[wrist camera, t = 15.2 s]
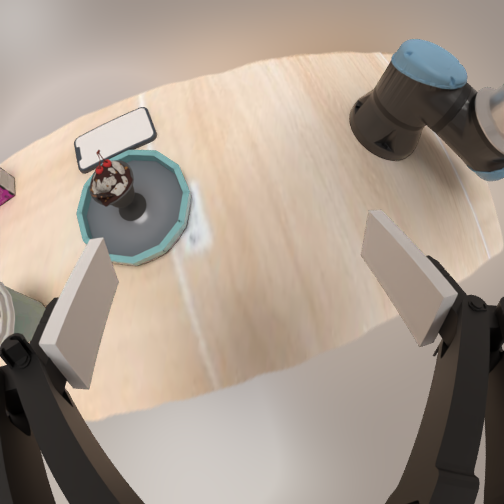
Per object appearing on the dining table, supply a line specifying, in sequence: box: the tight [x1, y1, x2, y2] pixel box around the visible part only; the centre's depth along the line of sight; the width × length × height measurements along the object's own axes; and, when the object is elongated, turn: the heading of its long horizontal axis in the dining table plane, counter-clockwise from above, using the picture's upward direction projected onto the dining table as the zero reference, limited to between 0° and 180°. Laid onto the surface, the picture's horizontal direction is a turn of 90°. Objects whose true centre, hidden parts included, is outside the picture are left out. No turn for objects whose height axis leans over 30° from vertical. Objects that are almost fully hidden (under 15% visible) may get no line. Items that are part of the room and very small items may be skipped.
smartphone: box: [74, 107, 157, 173], centre depth 49 cm, size 9×2×16 cm
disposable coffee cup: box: [0, 282, 46, 346], centre depth 34 cm, size 11×11×15 cm
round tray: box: [77, 150, 191, 266], centre depth 45 cm, size 19×19×3 cm
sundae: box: [89, 150, 146, 221], centre depth 39 cm, size 7×7×15 cm
